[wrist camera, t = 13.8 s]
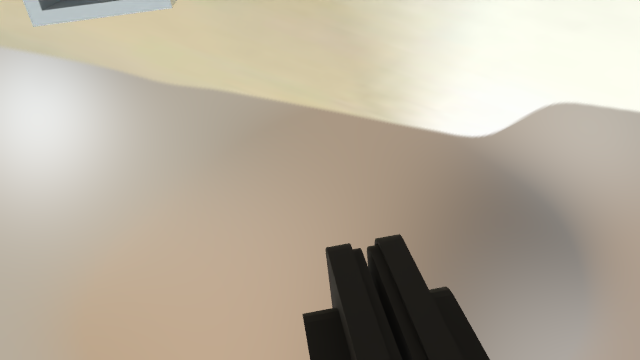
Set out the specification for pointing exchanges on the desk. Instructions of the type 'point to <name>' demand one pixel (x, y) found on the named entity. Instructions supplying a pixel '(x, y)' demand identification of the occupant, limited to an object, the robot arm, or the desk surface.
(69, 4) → the light blue pen cup
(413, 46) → the desk surface
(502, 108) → the desk surface
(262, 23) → the desk surface
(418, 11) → the desk surface
